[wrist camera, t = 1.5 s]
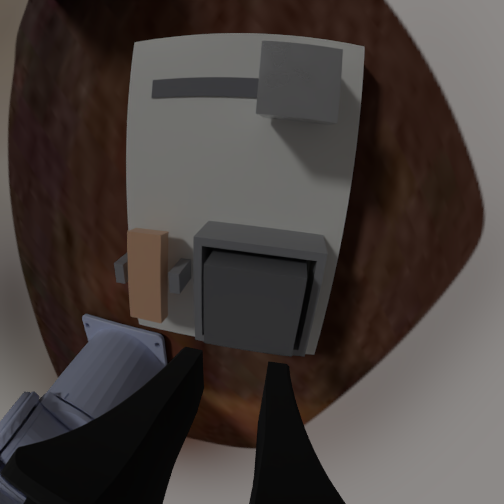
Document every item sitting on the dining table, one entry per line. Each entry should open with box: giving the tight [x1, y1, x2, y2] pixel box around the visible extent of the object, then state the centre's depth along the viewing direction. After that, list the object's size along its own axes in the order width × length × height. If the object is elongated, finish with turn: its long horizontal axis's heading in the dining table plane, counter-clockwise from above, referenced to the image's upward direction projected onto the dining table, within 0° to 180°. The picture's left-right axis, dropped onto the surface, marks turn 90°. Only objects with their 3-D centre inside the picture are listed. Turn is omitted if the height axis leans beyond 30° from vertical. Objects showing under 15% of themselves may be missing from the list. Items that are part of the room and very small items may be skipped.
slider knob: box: [256, 41, 343, 125], centre depth 11 cm, size 3×3×3 cm
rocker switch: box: [127, 228, 169, 323], centre depth 16 cm, size 5×2×1 cm, turn 176°
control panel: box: [114, 33, 365, 356], centre depth 15 cm, size 18×12×4 cm, turn 175°
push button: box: [204, 248, 307, 356], centre depth 14 cm, size 4×4×2 cm
